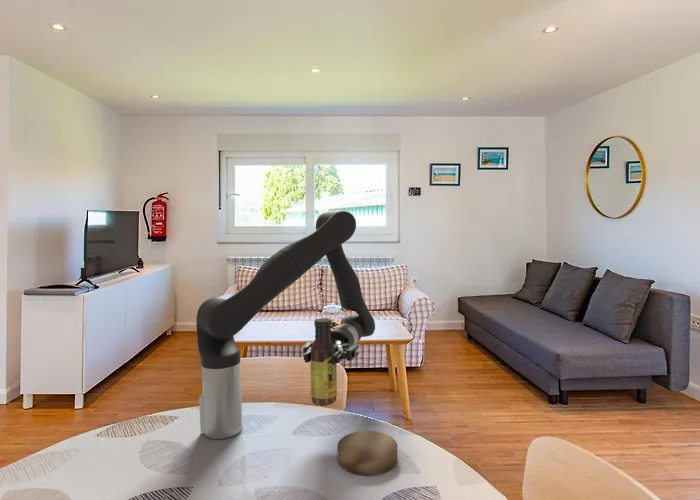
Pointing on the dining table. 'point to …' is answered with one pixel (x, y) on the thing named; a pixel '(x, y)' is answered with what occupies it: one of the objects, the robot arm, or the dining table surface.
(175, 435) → the dining table surface
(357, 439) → the tan flat disc
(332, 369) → the sauce bottle
